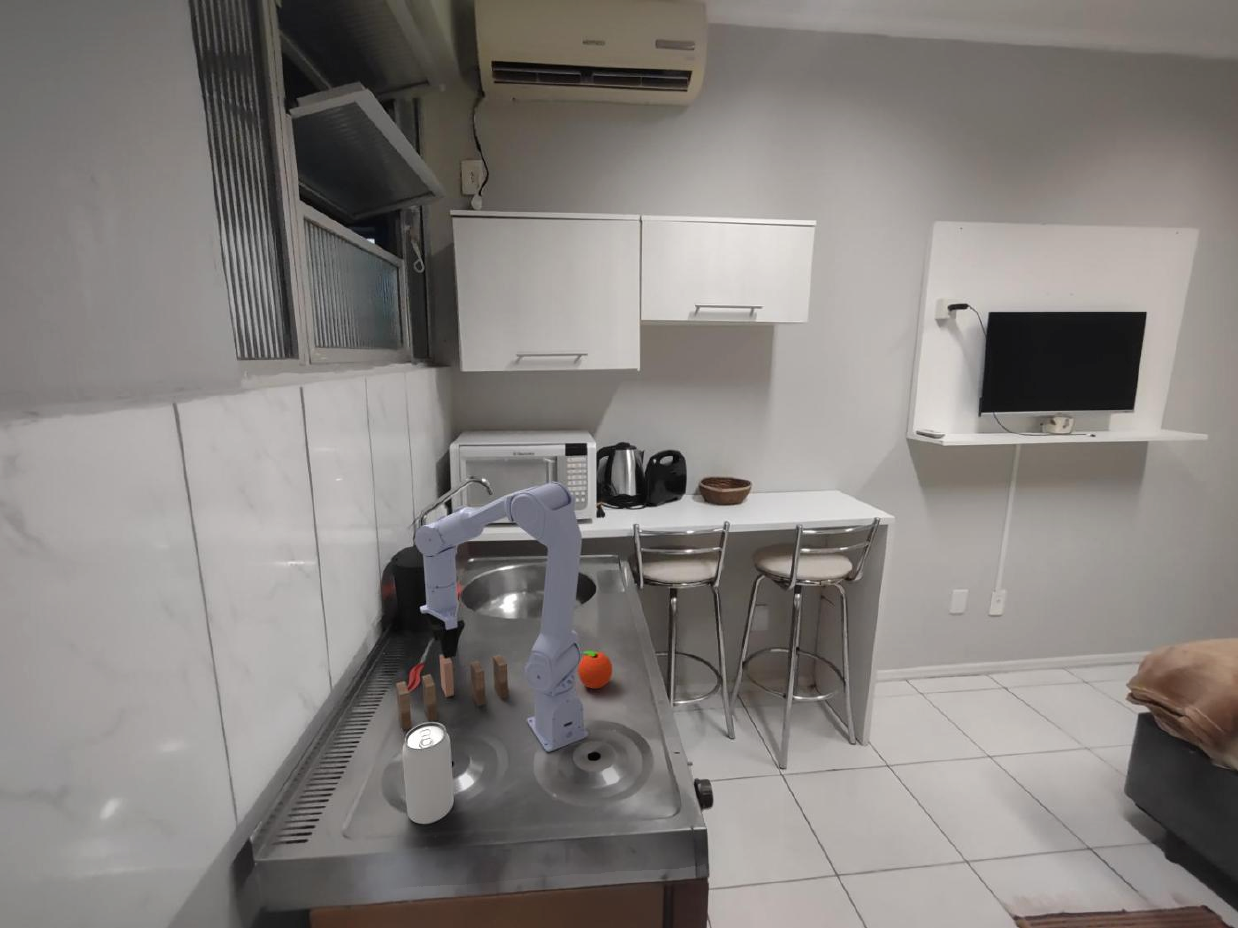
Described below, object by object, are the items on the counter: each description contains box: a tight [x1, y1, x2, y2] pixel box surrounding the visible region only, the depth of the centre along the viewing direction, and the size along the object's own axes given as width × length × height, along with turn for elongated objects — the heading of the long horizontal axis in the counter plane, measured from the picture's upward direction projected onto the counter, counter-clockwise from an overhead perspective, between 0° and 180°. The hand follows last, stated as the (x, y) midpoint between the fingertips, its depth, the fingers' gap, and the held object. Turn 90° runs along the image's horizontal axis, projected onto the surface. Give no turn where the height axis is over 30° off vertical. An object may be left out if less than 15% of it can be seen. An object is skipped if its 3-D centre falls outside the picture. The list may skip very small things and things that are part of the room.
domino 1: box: [395, 681, 412, 731], centre depth 96 cm, size 4×2×7 cm, turn 31°
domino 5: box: [492, 654, 509, 700], centre depth 105 cm, size 4×2×7 cm, turn 31°
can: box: [402, 721, 455, 825], centre depth 77 cm, size 6×6×12 cm
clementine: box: [577, 650, 613, 689], centre depth 108 cm, size 8×7×7 cm
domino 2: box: [421, 673, 438, 722], centre depth 98 cm, size 4×2×7 cm, turn 31°
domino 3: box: [439, 654, 455, 698], centre depth 106 cm, size 4×2×7 cm, turn 31°
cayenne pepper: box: [407, 662, 426, 692], centre depth 111 cm, size 12×5×2 cm, turn 168°
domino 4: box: [470, 660, 487, 707], centre depth 103 cm, size 4×2×7 cm, turn 31°
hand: (445, 647), depth 105 cm, fingers open, 7 cm apart
